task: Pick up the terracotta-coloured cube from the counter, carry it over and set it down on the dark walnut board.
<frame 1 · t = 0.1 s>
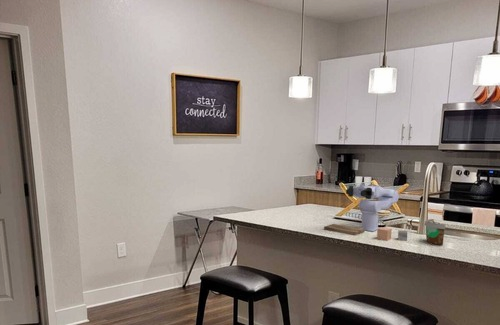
hand: (354, 192, 188), 22 cm above the countertop, tool horizontal, fingers open, 7 cm apart
grey block: (402, 239, 183), on the countertop
cube: (384, 239, 184), on the countertop
board: (343, 230, 199), on the countertop
food container: (431, 243, 178), on the countertop
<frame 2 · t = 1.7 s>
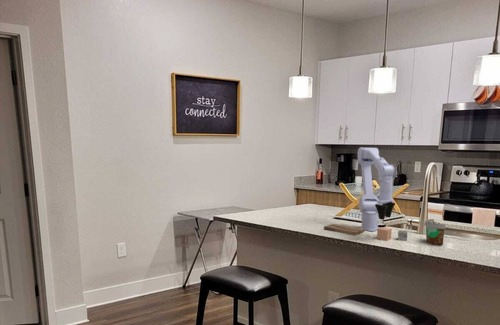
hand: (384, 218, 183), 10 cm above the countertop, tool pointing down, fingers open, 7 cm apart
nothing on the countertop moved.
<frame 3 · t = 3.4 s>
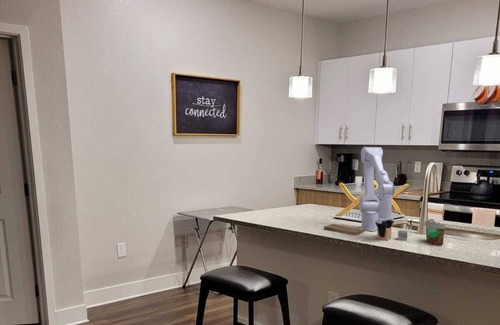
hand: (384, 235, 184), 1 cm above the countertop, tool pointing down, fingers closed on cube, 5 cm apart
cube: (384, 238, 184), on the countertop, touching gripper
everything else where it was.
when the fingers open (4 cm above the countertop, at t = 7.6 s): cube stays where it is, resting on board.
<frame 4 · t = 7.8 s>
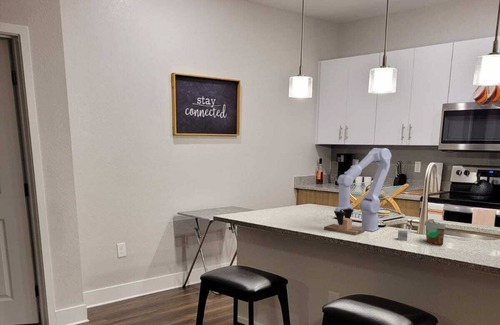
hand: (343, 223, 199), 4 cm above the countertop, tool pointing down, fingers open, 7 cm apart
cube: (345, 228, 198), point 1 cm above the countertop, touching board
everything else where it was.
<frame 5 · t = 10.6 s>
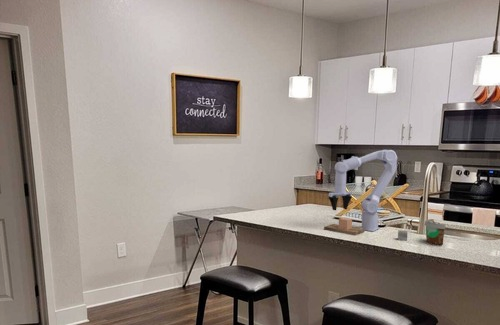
hand: (339, 209, 203), 10 cm above the countertop, tool pointing down, fingers open, 7 cm apart
nothing on the countertop moved.
at the end: cube inside the target area on the board (1.0 cm from its centre), point 1.5 cm above the board's base; cube tilted 0°; the gripper is holding nothing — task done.
